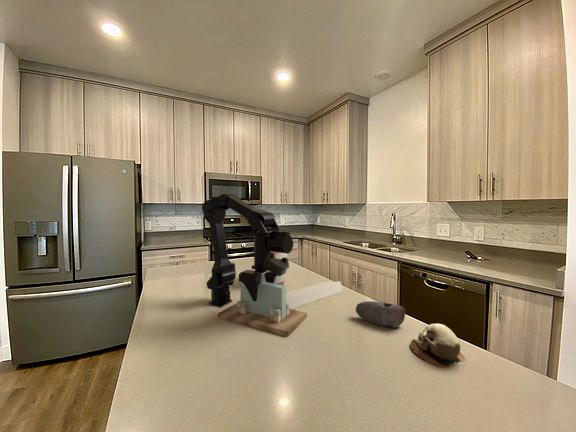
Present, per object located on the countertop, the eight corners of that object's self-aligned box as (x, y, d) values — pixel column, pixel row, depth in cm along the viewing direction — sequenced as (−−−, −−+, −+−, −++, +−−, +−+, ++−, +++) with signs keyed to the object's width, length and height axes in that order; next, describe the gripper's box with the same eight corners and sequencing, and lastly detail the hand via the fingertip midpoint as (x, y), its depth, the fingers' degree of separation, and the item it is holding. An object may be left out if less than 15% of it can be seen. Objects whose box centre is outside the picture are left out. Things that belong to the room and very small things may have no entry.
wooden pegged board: (218, 317, 81) (218, 302, 81) (243, 302, 94) (243, 290, 94) (288, 336, 70) (288, 319, 69) (306, 317, 82) (307, 302, 82)
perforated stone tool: (352, 319, 81) (353, 299, 80) (358, 314, 85) (358, 294, 85) (402, 333, 72) (402, 310, 72) (405, 326, 76) (406, 304, 76)
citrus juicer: (266, 277, 128) (266, 239, 127) (293, 283, 118) (294, 242, 117) (244, 285, 115) (244, 242, 115) (273, 292, 105) (273, 246, 104)
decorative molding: (266, 312, 92) (282, 314, 85) (264, 299, 93) (280, 300, 85) (325, 292, 114) (343, 292, 107) (323, 282, 115) (340, 281, 108)
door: (240, 309, 84) (240, 281, 83) (245, 306, 87) (245, 278, 86) (281, 320, 77) (281, 288, 76) (286, 316, 79) (286, 285, 79)
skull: (397, 341, 66) (416, 310, 68) (418, 361, 68) (436, 330, 71) (437, 368, 55) (459, 328, 57) (461, 390, 57) (481, 352, 59)
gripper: (269, 257, 69) (268, 312, 70) (296, 247, 86) (296, 292, 86) (237, 253, 74) (237, 304, 75) (269, 245, 91) (269, 287, 91)
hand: (262, 296), depth 81 cm, fingers open, 9 cm apart
